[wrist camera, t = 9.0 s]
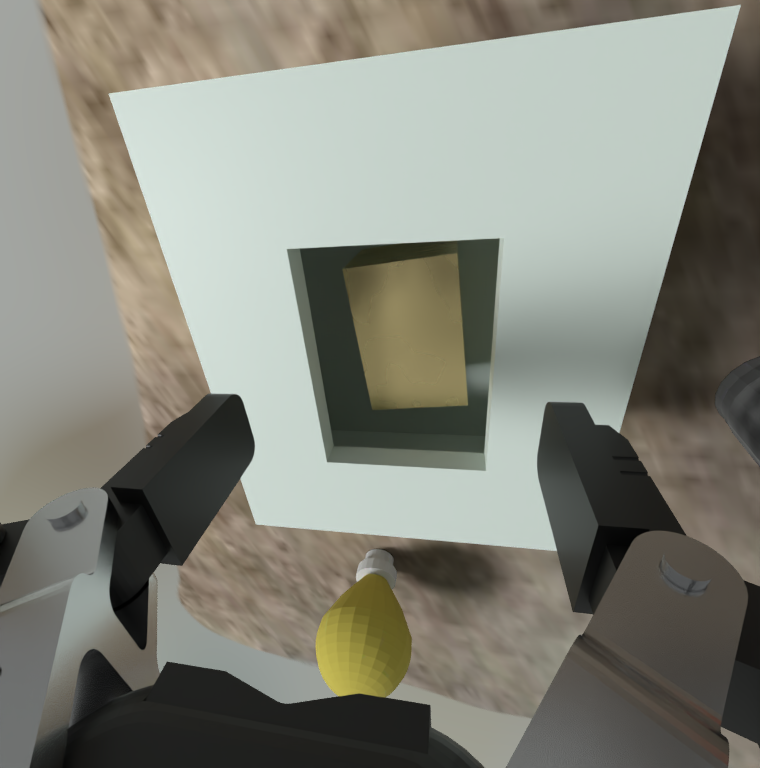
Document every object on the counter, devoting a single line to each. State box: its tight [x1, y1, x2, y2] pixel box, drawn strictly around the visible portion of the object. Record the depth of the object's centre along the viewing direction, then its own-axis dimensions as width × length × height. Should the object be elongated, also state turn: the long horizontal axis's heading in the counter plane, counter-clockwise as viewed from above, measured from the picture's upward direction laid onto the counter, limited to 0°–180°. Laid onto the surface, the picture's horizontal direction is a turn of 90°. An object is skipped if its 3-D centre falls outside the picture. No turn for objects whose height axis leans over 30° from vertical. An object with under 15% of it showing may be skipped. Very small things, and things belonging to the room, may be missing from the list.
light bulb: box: [316, 549, 412, 698], centre depth 28 cm, size 7×7×10 cm
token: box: [342, 240, 468, 410], centre depth 16 cm, size 6×4×4 cm, turn 9°
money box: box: [109, 5, 741, 551], centre depth 17 cm, size 16×14×10 cm
